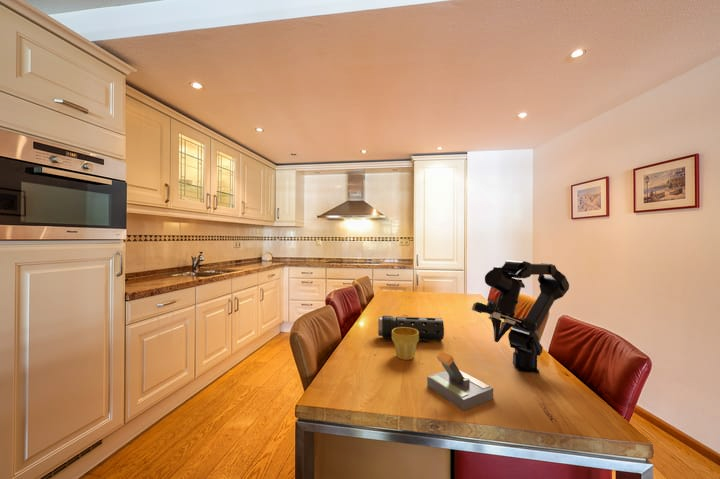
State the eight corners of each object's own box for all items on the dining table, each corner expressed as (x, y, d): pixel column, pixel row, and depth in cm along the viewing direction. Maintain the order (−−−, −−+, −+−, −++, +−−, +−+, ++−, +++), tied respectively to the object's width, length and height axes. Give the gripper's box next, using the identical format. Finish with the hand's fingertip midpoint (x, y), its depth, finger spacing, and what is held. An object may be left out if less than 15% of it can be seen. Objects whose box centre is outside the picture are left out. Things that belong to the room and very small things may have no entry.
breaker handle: (456, 375, 86) (441, 350, 83) (466, 381, 82) (451, 356, 79) (451, 381, 85) (436, 356, 82) (462, 387, 81) (446, 362, 78)
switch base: (455, 376, 93) (455, 361, 92) (493, 398, 80) (493, 381, 80) (427, 385, 87) (427, 369, 87) (463, 410, 75) (463, 392, 74)
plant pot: (385, 356, 108) (386, 330, 108) (402, 348, 116) (402, 324, 115) (408, 365, 101) (408, 337, 101) (424, 356, 108) (424, 331, 108)
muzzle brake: (444, 345, 119) (444, 321, 119) (378, 342, 122) (378, 318, 122) (440, 337, 129) (440, 315, 129) (378, 334, 132) (379, 312, 132)
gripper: (530, 307, 99) (518, 350, 96) (475, 288, 104) (463, 329, 102) (542, 305, 88) (530, 355, 86) (481, 285, 94) (468, 331, 91)
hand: (495, 341), depth 91 cm, fingers closed
